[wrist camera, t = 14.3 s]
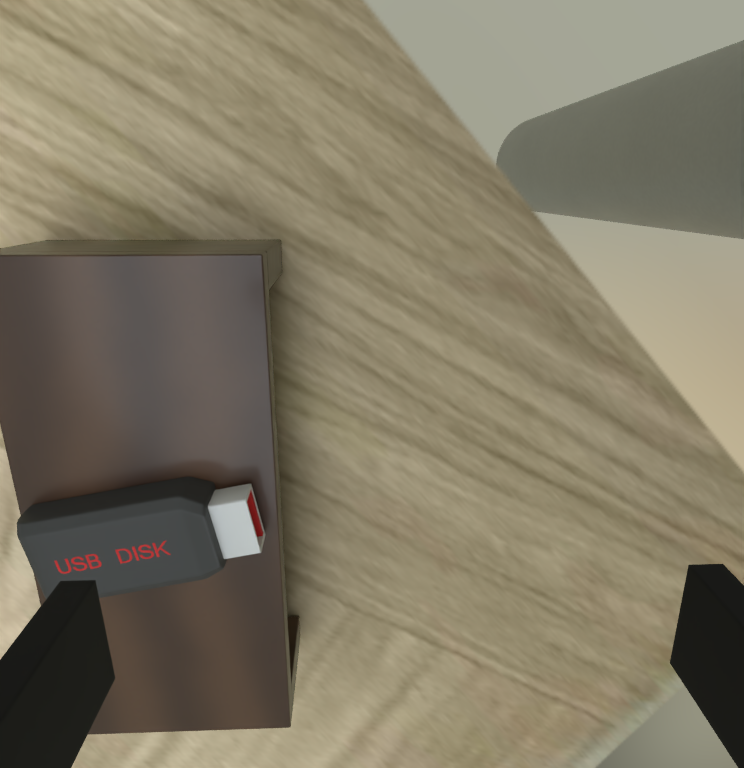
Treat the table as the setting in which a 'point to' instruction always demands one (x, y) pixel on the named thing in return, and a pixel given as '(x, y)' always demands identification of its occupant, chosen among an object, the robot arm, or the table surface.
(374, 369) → the table surface
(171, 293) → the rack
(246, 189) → the table surface
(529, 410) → the table surface
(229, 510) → the usb drive
